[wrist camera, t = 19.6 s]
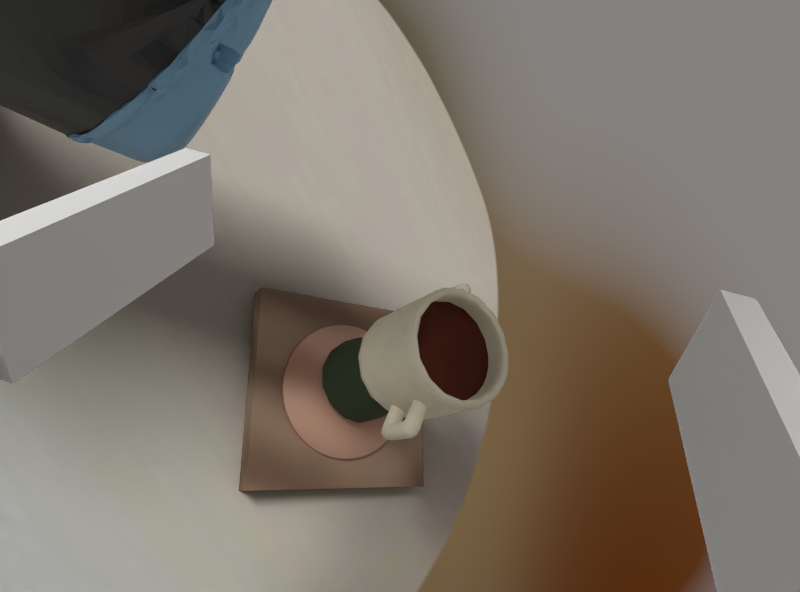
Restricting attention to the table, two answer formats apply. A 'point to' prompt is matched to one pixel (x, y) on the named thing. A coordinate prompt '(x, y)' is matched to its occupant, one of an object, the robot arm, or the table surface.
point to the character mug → (419, 363)
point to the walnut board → (312, 404)
